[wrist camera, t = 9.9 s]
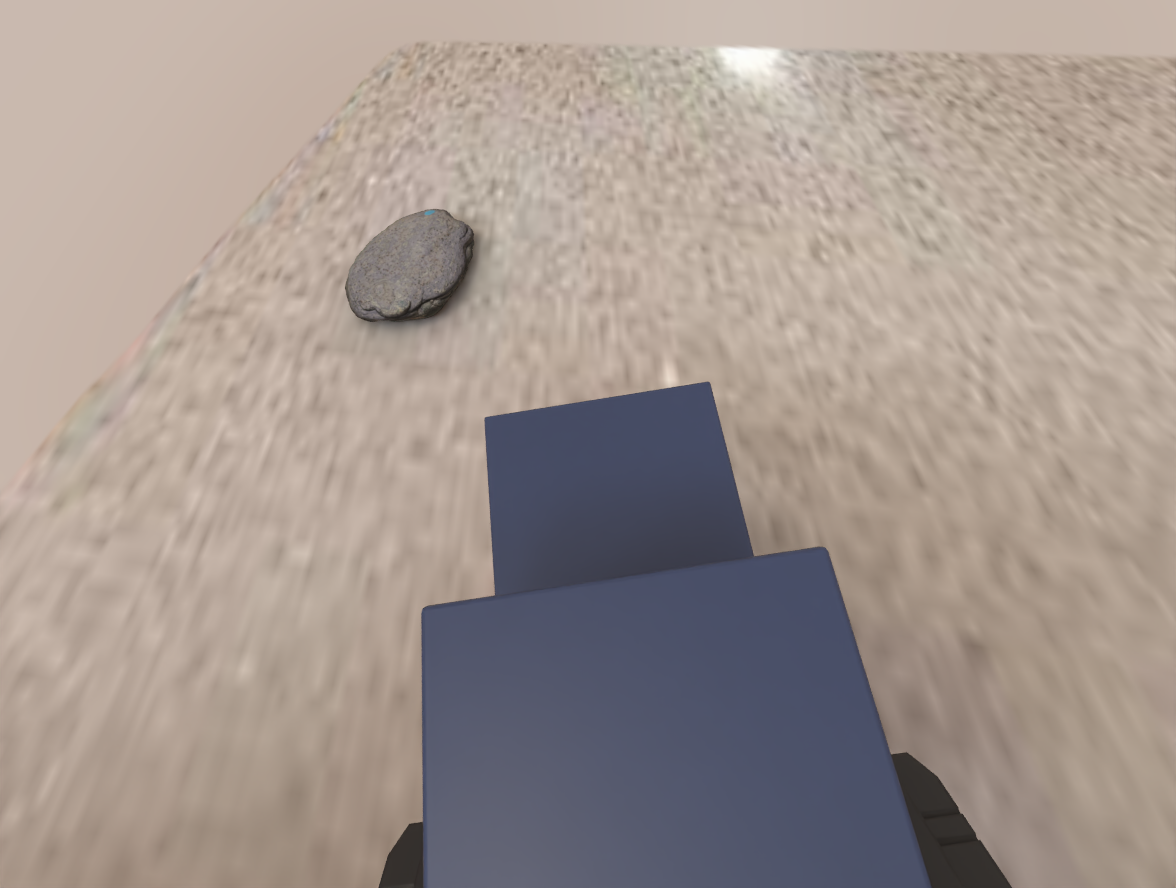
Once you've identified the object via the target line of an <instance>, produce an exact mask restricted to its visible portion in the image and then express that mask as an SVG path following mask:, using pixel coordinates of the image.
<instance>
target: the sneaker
mask: <svg viewBox="0 0 1176 888" xmlns="http://www.w3.org/2000/svg"><path fill="white" fill-rule="evenodd" d="M485 436H486V453H487V469H488V486H489V503H490V519H491V536H492V552H493V569H494V585H495V596H489V597H483V598H476V599H469V600H463V601H456V602H450V603H443V604H436V605H430V606H427V607H425V608H423V610H422V613H421V624H422V756H423V888H932V886H931V883H930V880H929V877H928V873H927V870H926V867H925V864H924V860H923V857H922V854H921V851H920V847H919V844H918V841H917V838H916V834H915V831H914V828H913V825H912V821H911V818H910V815H909V812H908V808H907V805H906V802H905V799H904V795H903V792H902V789H901V786H900V783H899V779H898V776H897V773H896V770H895V766H894V763H893V760H892V757H891V753H890V750H889V747H888V744H887V740H886V737H885V734H884V731H883V727H882V724H881V721H880V718H879V714H878V711H877V708H876V705H875V701H874V698H873V695H872V692H871V688H870V685H869V682H868V679H867V676H866V672H865V669H864V666H863V663H862V659H861V656H860V653H859V650H858V646H857V643H856V640H855V637H854V633H853V630H852V627H851V624H850V620H849V617H848V614H847V611H846V607H845V604H844V601H843V598H842V594H841V591H840V588H839V585H838V581H837V578H836V575H835V572H834V569H833V565H832V562H831V559H830V556H829V552H828V551H827V549H826V548H824V547H814V548H807V549H801V550H794V551H788V552H781V553H774V554H768V555H761V556H754V554H753V550H752V546H751V542H750V538H749V535H748V531H747V527H746V523H745V519H744V515H743V511H742V507H741V503H740V499H739V495H738V491H737V487H736V483H735V479H734V475H733V471H732V467H731V463H730V459H729V455H728V451H727V447H726V443H725V440H724V436H723V432H722V428H721V424H720V420H719V416H718V412H717V408H716V404H715V400H714V396H713V392H712V388H711V384H710V382H703V383H697V384H691V385H685V386H678V387H672V388H666V389H660V390H653V391H647V392H641V393H634V394H628V395H622V396H616V397H609V398H603V399H597V400H590V401H584V402H578V403H572V404H565V405H559V406H553V407H547V408H540V409H534V410H528V411H521V412H515V413H509V414H503V415H496V416H490V417H485Z"/></svg>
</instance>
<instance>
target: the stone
mask: <svg viewBox="0 0 1176 888" xmlns="http://www.w3.org/2000/svg"><path fill="white" fill-rule="evenodd" d="M473 237H474V233H473V230H472V229H471V228H470V227H469V226H468V225H466V224H465V223H464V222H462V221H458V220H455V219H454V218H453V217H452V216H451V215H450V213H448V212H447V211H445V210H439V209H430V210H425V211H421V212H418V213H414V214H412V215H409V216H406V217H403V218H401V219H399V220H397V221H396V222H394V223H393V224H392V225H390V226H388V227H387V228H386V229H385V230H384V231H382V232H381V233H380V234H378V235H377V236H376V237H374V238H373V240H372V241H370V242H369V243H368V244H367V245H366V247H365V248H364V249H363V251H361V253H360V254H359V255H358V256H357V258H356V259H355V262H354V264H353V265H352V266H351V268H350V270H349V275H348V278H347V281H346V286H345V289H346V294H347V298H348V301H349V304H350V307H351V309H352V311H353V312H354V313H355V315H356V316H357V317H359V318H361V319H364V320H367V321H370V322H375V321H378V320H390V321H399V320H407V319H419V318H428V317H430V316H433V315H434V314H436V313H437V312H438V311H440V310H441V309H442V307H443V306H444V304H445V303H446V302H447V300H448V299H449V298H450V297H451V295H452V294H453V292H454V291H455V290H456V288H457V287H458V285H459V283H460V281H461V280H462V279H463V277H464V275H465V273H466V271H467V266H468V263H469V261H470V260H471V258H472V255H473V253H472V249H473V246H474V240H473Z"/></svg>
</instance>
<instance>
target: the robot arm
mask: <svg viewBox="0 0 1176 888" xmlns="http://www.w3.org/2000/svg"><path fill="white" fill-rule="evenodd" d="M891 757H892V760H893V763H894V766H895V770H896V773H897V776H898V779H899V783H900V786H901V789H902V792H903V795H904V799H905V802H906V805H907V808H908V812H909V815H910V818H911V821H912V825H913V828H914V831H915V834H916V838H917V841H918V844H919V847H920V851H921V854H922V857H923V860H924V864H925V867H926V870H927V873H928V877H929V880H930V883H931V886H932V888H1012V887H1011V885H1010V884H1009V882H1008V881H1007V879H1006V878H1005V876H1004V875H1003V873H1002V872H1001V870H1000V869H999V867H998V866H997V864H996V863H995V862H994V860H993V859H992V857H991V856H990V854H989V853H988V851H987V850H986V848H985V847H984V845H983V844H982V842H981V841H980V840H979V841H978V839H977V837H976V833H975V832H974V830H973V829H972V827H971V826H970V824H969V823H968V821H967V820H966V818H965V817H964V815H963V814H960V812H959V809H958V806H957V805H956V803H955V802H954V801H953V799H952V798H951V796H950V795H949V793H948V792H947V790H946V789H945V787H944V786H943V784H942V783H941V781H940V780H939V778H938V777H937V776H936V775H935V774H933V773H932V772H931V771H930V770H928V769H927V768H926V767H925V766H923V765H922V764H921V763H920V762H918V761H917V760H916V759H915V758H913V757H912V756H911V755H910V754H908V753H907V752H906V753H899V754H892V755H891ZM379 888H423V822H420V823H412V824H409V825H408V827H407V828H406V830H405V831H404V832H403V834H402V835H401V837H400V838H399V840H398V841H397V843H396V844H395V846H394V847H393V849H392V850H391V852H390V853H389V855H388V857H387V861H386V864H385V867H384V871H383V874H382V878H381V881H380V884H379Z"/></svg>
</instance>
